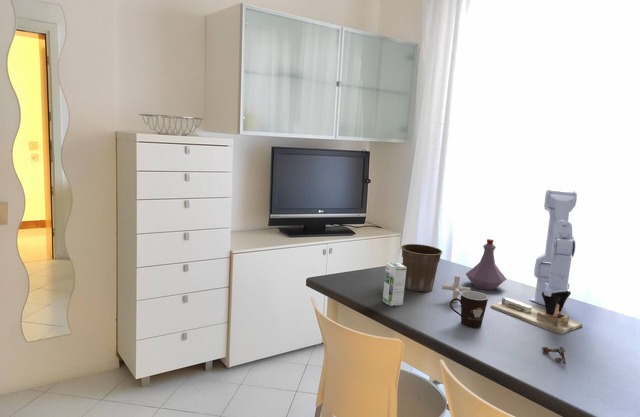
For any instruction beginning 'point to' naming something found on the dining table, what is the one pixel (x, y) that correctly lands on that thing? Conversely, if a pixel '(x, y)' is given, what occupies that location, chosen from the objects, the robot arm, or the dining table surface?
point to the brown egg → (554, 312)
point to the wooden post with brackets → (562, 350)
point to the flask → (486, 270)
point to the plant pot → (420, 266)
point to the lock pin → (517, 304)
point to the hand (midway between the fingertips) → (553, 312)
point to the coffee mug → (471, 308)
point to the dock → (540, 318)
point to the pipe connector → (455, 288)
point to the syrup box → (394, 284)
